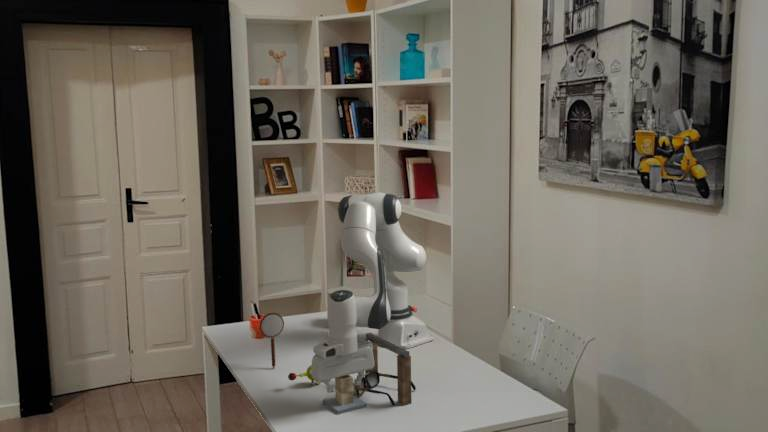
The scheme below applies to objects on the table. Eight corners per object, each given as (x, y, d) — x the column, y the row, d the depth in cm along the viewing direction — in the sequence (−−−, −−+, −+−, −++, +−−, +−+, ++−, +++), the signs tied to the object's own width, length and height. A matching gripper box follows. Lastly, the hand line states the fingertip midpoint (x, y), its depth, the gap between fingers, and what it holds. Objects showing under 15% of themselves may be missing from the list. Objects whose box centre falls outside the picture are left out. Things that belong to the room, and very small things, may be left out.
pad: (350, 396, 237) (350, 393, 236) (367, 406, 228) (367, 403, 228) (322, 403, 231) (322, 400, 231) (338, 414, 223) (337, 411, 223)
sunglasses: (394, 406, 228) (393, 390, 227) (351, 397, 235) (351, 381, 235) (415, 390, 240) (415, 375, 239) (375, 382, 247) (374, 367, 247)
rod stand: (373, 381, 249) (372, 337, 247) (411, 403, 230) (410, 356, 228) (365, 382, 247) (364, 339, 245) (403, 405, 229) (402, 358, 226)
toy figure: (292, 392, 240) (291, 372, 239) (286, 387, 245) (285, 367, 244) (343, 382, 248) (343, 362, 247) (336, 377, 253) (336, 357, 252)
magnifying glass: (262, 371, 260) (260, 315, 257) (261, 370, 261) (258, 314, 258) (286, 367, 264) (284, 311, 261) (284, 365, 265) (282, 310, 262)
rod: (370, 337, 247) (370, 332, 246) (409, 356, 227) (409, 351, 227) (366, 338, 246) (365, 333, 246) (404, 357, 226) (404, 352, 226)
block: (347, 398, 232) (346, 373, 231) (353, 402, 229) (352, 377, 228) (335, 401, 230) (334, 376, 229) (341, 405, 227) (341, 380, 226)
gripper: (367, 336, 235) (368, 378, 237) (308, 348, 224) (309, 392, 226) (377, 341, 230) (378, 384, 232) (317, 354, 219) (319, 399, 221)
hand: (344, 388), depth 229 cm, fingers open, 8 cm apart
